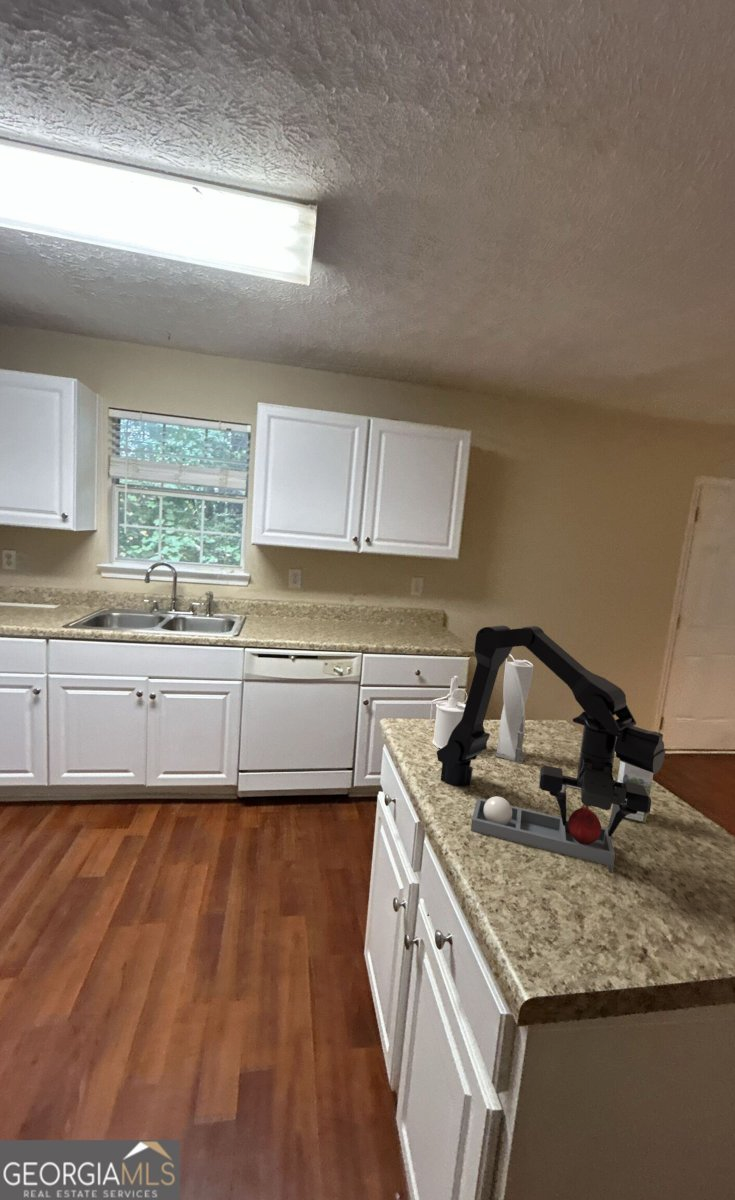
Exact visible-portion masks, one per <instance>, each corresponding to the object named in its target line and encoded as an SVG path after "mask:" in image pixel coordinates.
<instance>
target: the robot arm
mask: <svg viewBox="0 0 735 1200" xmlns="http://www.w3.org/2000/svg"><path fill="white" fill-rule="evenodd" d="M474 641H475V642H474V649H473V650H474V655H475V659H476V666H475V669H474V673H473V677H472V680H471V684H470V687H469V690H468V691H469V692H468V694H467V697H466V698H467V701H466V702H465V704H466V705H465V709H464V713H463V716H462V719H461V721H460V722H459V723H458V725H457V726H456V727H455V728H454V730H453V731H452V733H451V735H450V737H449V740H448V742H447V745H446V746H444V747H443V748H441V749H439V750H436V757H437V761H438V762H440V763H441V773H440V781H441V782H444V783H445V784H447V785H449V786H452V787H471V784H472V780H473V779H472V778H473V770H474V768H473V766H471V765H472V761H473V760H474V761H475V760H476V759H477V757H478V755H480V754H482V753H483V751H485V750H488V749H487V747H488V746H487V742H488V741H489V739H490V733H488V732H485V728H484V722H485V718H486V715H487V712H488V711H487V710H488V707H489V704H490V701H491V698H492V693H493V690H494V687H495V683H496V680H497V677H498V673H499V669H500V667H501V666H502V665H503V664H504V662H506V658H507V659H508V658H509V657H510V656H509V654H511V651H512V650H513V648H514V647H525V648H526V649H527V650H529V652H530V653H532V654H533V655H534V656H535V657H536V658H537V659H538V660H539V661H540V662H541V663H543V664H544V665H545V666H546V667H547V668H548V669H549V670H550V671H551V672H552V673H554V674H555V675H556V676H557V677H558V678H559V679H560V680H561V681H562V682H563V683H564V684H566V686H567V687H568V688H569V689H570V691H571V692H572V695H573V696H574V700H575V701H576V703H578V705H579V706H580V708H582V710H583V711H582V712H581V714H579V715H577V716H576V717H574V718H572V722H573V723H574V724H579V725H581V726H583V730H582V737H581V738H582V739H581V744H580V745H581V746H580V753H579V760H578V766H577V767H578V768H577V775H576V777H573V776H567V775H564V774H563V768H561V767H556V766H555V767H554V766H550V765H545V764H543V765H542V766H541V767H540V768H539V769H540V770H539V779H538V780H539V787H538V788H539V789H540V790H542V791H544V792H549V795H550V796H552V797H555V799H556V801H557V804H558V807H559V810H560V817H561V818H562V822H563V826H565V825H566V819H567V790H566V789H567V788H569V789H575V790H579V791H580V793H581V794H580V796H581V797H580V801H581V803H582V805H583V804H584V805H586V806H588V807H594V808H597V809H598V808H599V809H602V810H604V811H609V810H611V813H610V817H609V821H608V822H609V823H608V827H607V828H608V836H609V837H611V838H612V836H613V835H614V834H615V831H616V830H617V828H618V826H619V825H620V823H621V822H622V821H623V819H625V818H624V817H625V816H626V815H628V814H636V813H637V811H639V812H644V813H647V814H649V813H650V812H651V806H652V799H651V795H650V796H649V794H648V791H647V789H646V788H645V787H644V786H643V785H639V784H634V783H629V782H623V783H620V782H617V780H614V776H613V767H614V762H615V758H617V759H619V762H620V761H622V762H624V763H627V764H630V765H632V766H635V767H638V768H641V769H643V770H646V771H649V772H652V773H653V775H655V774H658V773H659V772H660V771H661V768H662V766H663V763H664V760H665V754H666V749H665V742H664V741H663V737H664V735H663V733H661V732H658V731H652V730H647V729H644V728H641V727H638V726H636V725H637V721H636V720H635V717H634V716H633V714H632V712H631V710H630V708H629V706H628V704H627V698H626V697H627V696H626V693H625V691H624V690H623V689H622V688H621V687H619V686H618V685H616V684H615V683H613V682H611V681H610V680H608V679H606V678H605V677H602V676H600V675H598V674H595V673H593V672H591V671H590V670H589V669H586V668H585V667H584V666H583V665H582V664H581V663H580V662H579V661H577V660H576V659H575V658H574V657H573V656H571V654H569V653H568V652H567V651H565V649H563V647H562V646H560V645H559V644H557V643H556V642H555V641H554V640H553V639H552V638H551V637H549V636H548V635H547V634H546V633H545V632H544V630H543V629H542V628H540V627H539V626H538V625H537V626H536V625H532V626H523V627H520V628H510V627H509V626H508V625H494V626H486V627H485V626H484V627H482V628H480V629H479V630H478V631H477V632H476V635H475V640H474ZM615 716H616V718H617V719H616V718H615Z"/></svg>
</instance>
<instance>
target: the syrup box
mask: <svg viewBox="0 0 735 1200" xmlns="http://www.w3.org/2000/svg"><path fill="white" fill-rule="evenodd" d="M653 778H654V773H652V772H649V771H646V770H643V769H641V768H638V767H635V766H632V765H630V764H627V763H624V762H622V761H620V760H619V766H618V772H617V780H616V781H617V782H620V783H623V782H629V783H634V784H639V785H643V786H644V787H645V788H646V789H647V791H648V794H649V796H650V797H651V791H652V784H653ZM647 816H648V813H644V812H639V811H637V813H636V814H628V815H626V816H625V817H624V818H623V819H626V820H630V821H635V822H639V823H646V821H647Z"/></svg>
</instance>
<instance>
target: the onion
mask: <svg viewBox="0 0 735 1200" xmlns="http://www.w3.org/2000/svg"><path fill="white" fill-rule="evenodd" d="M568 819H569V820H568V827H569V831H570V833H571V835H572V836H573V838H574V839H575V840H576V841H577V842H579V843H580V844H583V845H588V844H592V843H593V842H595V841H596V840H597V839H598V838H599V836H600V833H601V827H602V825H601V824H602V823H601V821H600V819H599V817H598V816H597V815H596V813H595V812H594V811H593V810H592V809H590V808H589V806H586V805H584V804H583V803H582V806H581V807H580V808H577V809H575V810H574V811H572V813H570V816H569V817H568Z"/></svg>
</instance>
